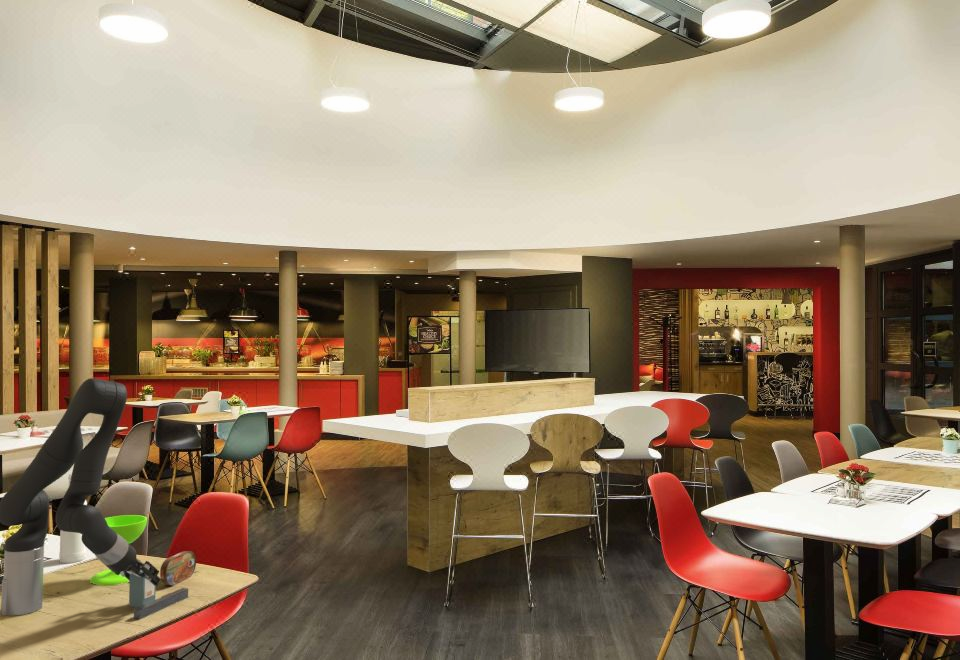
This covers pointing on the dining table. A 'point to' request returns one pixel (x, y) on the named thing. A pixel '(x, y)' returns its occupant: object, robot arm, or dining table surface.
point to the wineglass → (130, 531)
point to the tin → (178, 568)
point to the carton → (140, 591)
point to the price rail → (160, 603)
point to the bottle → (71, 544)
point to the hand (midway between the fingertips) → (146, 581)
